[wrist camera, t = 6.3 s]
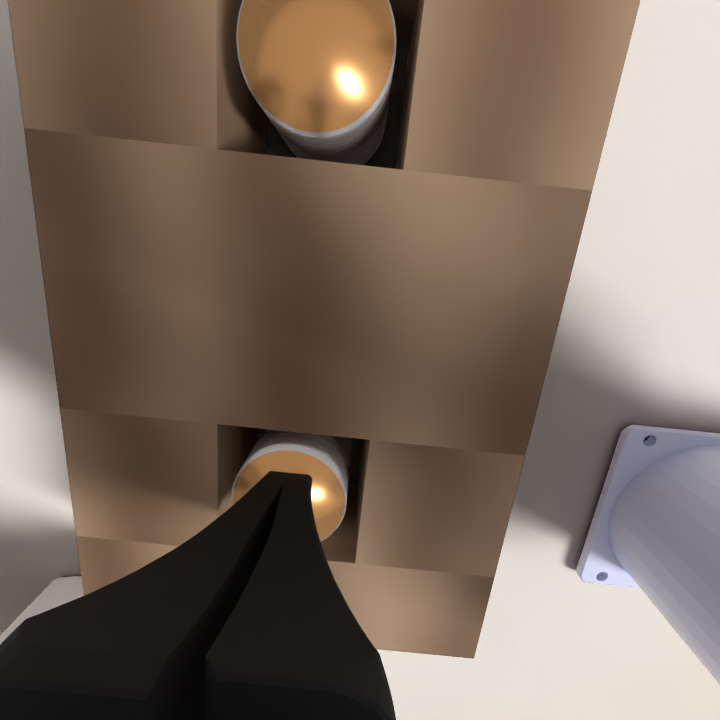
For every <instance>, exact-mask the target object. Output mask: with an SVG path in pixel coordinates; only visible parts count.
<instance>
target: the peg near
mask: <svg viewBox="0 0 720 720" xmlns="http://www.w3.org/2000/svg"><path fill="white" fill-rule="evenodd" d="M236 41H237V53H238V59H239V63H240V67H241V71H242V74H243V76H244V79H245V82H246V84H247V86H248V88H249V90H250V92H251V94H252V95H253V97H254V98H255V99H256V101H257V102H258V104H259V105H260V107H261V108H262V109H263V111H264V112H265V114H266V115H267V116H268V118H269V119H270V121H271V122H272V124H273V125H274V126H275V128H276V129H277V131H278V132H279V133H280V135H281V136H282V138H283V139H284V140H285V142H286V143H287V145H288V146H289V147H290V149H291V150H292V152H293V153H294V154H295V156H296V157H297V158H302V159H311V160H320V161H329V162H338V163H347V164H356V165H364V164H365V163H366V162H367V161H368V160H369V159H370V158H371V157H372V156H373V155H374V153H375V152H376V150H377V149H378V147H379V145H380V143H381V141H382V138H383V135H384V131H385V126H386V119H387V112H388V105H389V98H390V91H391V84H392V77H393V70H394V63H395V56H396V27H395V21H394V15H393V12H392V8H391V5H390V2H389V0H242V3H241V7H240V10H239V15H238V21H237V32H236Z"/></svg>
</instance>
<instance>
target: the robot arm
mask: <svg viewBox="0 0 720 720" xmlns="http://www.w3.org/2000/svg"><path fill="white" fill-rule="evenodd" d="M648 435H649V438H648V440H646V441H644V442H643V440H644V439H645V437H647V436H648ZM311 490H312V477H311V476H310V475H307V474H297V473H287V472H277V471H270V472H268V473H267V474H266V475H265V476H264V477H263V478H262V479H261V480H260V481H259V482H258V483H257V484H256V485H255V486H253V487H252V488H251V489H250V490H249V491H248V492H247V493H246V494H245V495H244V496H243V497H242V498H240V499H239V500H238V501H237V502H236V503H235V504H234V505H233V506H231V507H230V508H229V509H228V510H227V511H226V512H224V513H223V514H222V515H221V516H219V517H218V518H217V519H216V520H214V521H213V522H212V523H211V524H209V525H208V526H207V527H206V528H204V529H203V530H201V531H200V532H199V533H197V534H196V535H195V536H193V537H192V538H190V539H189V540H187V541H186V542H184V543H183V544H181V545H180V546H178V547H177V548H175V549H173V550H172V551H170V552H168V553H167V554H165V555H163V556H161V557H160V558H158V559H156V560H154V561H153V562H151V563H149V564H147V565H146V566H144V567H142V568H140V569H139V570H137V571H135V572H133V573H131V574H129V575H127V576H125V577H123V578H121V579H119V580H117V581H115V582H113V583H111V584H109V585H106V586H104V587H102V588H100V589H98V590H96V591H94V592H91V593H89V594H87V595H84V596H82V597H80V598H77V599H75V600H72V601H70V602H67V603H65V604H62V605H60V606H57V607H55V608H53V609H50V610H48V611H45V612H43V613H40V614H38V615H35V616H32V617H30V618H27V619H25V620H24V621H23V622H22V623H21V624H20V625H19V626H18V627H17V628H16V629H15V630H14V631H13V632H12V633H11V634H10V635H9V636H8V637H7V638H6V639H5V640H4V641H3V642H2V643H1V644H0V720H396V717H395V711H394V706H393V701H392V697H391V692H390V689H389V685H388V681H387V677H386V674H385V671H384V667H383V664H382V661H381V658H380V654H379V653H378V651H377V650H376V648H375V647H374V646H373V644H372V643H371V641H370V640H369V638H368V637H367V635H366V634H365V632H364V631H363V629H362V628H361V626H360V625H359V623H358V622H357V620H356V618H355V617H354V615H353V613H352V612H351V610H350V608H349V606H348V604H347V602H346V601H345V599H344V597H343V595H342V593H341V591H340V589H339V587H338V585H337V583H336V581H335V579H334V577H333V574H332V572H331V570H330V567H329V565H328V562H327V559H326V557H325V554H324V551H323V548H322V545H321V542H320V539H319V535H318V532H317V528H316V524H315V519H314V514H313V508H312V501H311ZM576 572H577V574H578V576H579V577H580V579H581V580H582V581H583V582H586V583H592V584H602V585H612V586H622V587H632V588H641V589H642V591H643V592H644V593H645V594H646V595H647V597H648V598H649V599H650V600H651V601H652V603H653V604H654V605H655V606H656V608H657V609H658V610H659V611H660V612H661V614H662V615H663V616H664V617H665V618H666V620H667V621H668V622H669V623H670V625H671V626H672V627H673V628H674V629H675V631H676V632H677V633H678V634H679V635H680V637H681V638H682V639H683V640H684V642H685V643H686V644H687V645H688V646H689V648H690V649H691V650H692V651H693V652H694V654H695V655H696V656H697V657H698V659H699V660H700V661H701V662H702V663H703V665H704V666H705V667H706V668H707V669H708V671H709V672H710V673H711V674H712V676H713V677H714V678H715V679H716V680H717V682H718V683H719V684H720V433H711V432H701V431H691V430H682V429H672V428H662V427H653V426H643V425H630V426H628V427H626V428H625V429H624V430H623V431H622V432H621V434H620V437H619V440H618V443H617V446H616V449H615V452H614V455H613V459H612V462H611V465H610V468H609V471H608V474H607V477H606V480H605V483H604V486H603V489H602V492H601V495H600V498H599V501H598V505H597V508H596V511H595V514H594V517H593V520H592V523H591V526H590V529H589V532H588V535H587V538H586V541H585V544H584V547H583V550H582V554H581V557H580V560H579V563H578V566H577V571H576ZM600 572H601V573H600ZM598 573H599V574H598Z"/></svg>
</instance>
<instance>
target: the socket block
mask: <svg viewBox="0 0 720 720" xmlns="http://www.w3.org/2000/svg"><path fill="white" fill-rule="evenodd" d="M389 2H390V5H391V8H392V12H393V15H394V21H395V27H396V46H401V47H409V54H408V63H407V71H406V80H405V88H404V97H403V105H402V114H401V122H400V131H399V139H398V148H397V156H396V165H395V169H392V168H383V167H374V166H365V165H356V164H347V163H338V162H329V161H320V160H311V159H302V158H293V157H283V156H274V155H266V150H267V118H268V116H267V115H266V114H265V112H264V111H263V109H262V108H261V107H260V105H259V104H258V102H257V101H256V99H255V98H254V97H253V95H252V94H251V92H250V90H249V88H248V86H247V84H246V82H245V79H244V76H243V74H242V71H241V67H240V63H239V59H238V53H237V41H236V32H237V21H238V15H239V10H240V7H241V3H242V0H8V6H9V14H10V22H11V30H12V38H13V46H14V53H15V61H16V69H17V77H18V85H19V93H20V100H21V108H22V116H23V124H24V132H25V139H26V147H27V155H28V163H29V171H30V179H31V186H32V194H33V202H34V210H35V218H36V226H37V233H38V241H39V249H40V257H41V265H42V273H43V280H44V288H45V296H46V304H47V312H48V320H49V327H50V335H51V343H52V351H53V359H54V367H55V374H56V382H57V390H58V398H59V406H60V414H61V421H62V429H63V437H64V445H65V453H66V460H67V468H68V476H69V484H70V492H71V500H72V507H73V515H74V523H75V531H76V539H77V547H78V554H79V562H80V570H81V578H82V586H83V594H84V595H87V594H89V593H91V592H94V591H96V590H98V589H100V588H102V587H104V586H106V585H109V584H111V583H113V582H115V581H117V580H119V579H121V578H123V577H125V576H127V575H129V574H131V573H133V572H135V571H137V570H139V569H140V568H142V567H144V566H146V565H147V564H149V563H151V562H153V561H154V560H156V559H158V558H160V557H161V556H163V555H165V554H167V553H168V552H170V551H172V550H173V549H175V548H177V547H178V546H180V545H181V544H183V543H184V542H186V541H187V540H189V539H190V538H192V537H193V536H195V535H196V534H197V533H199V532H200V531H201V530H203V529H204V528H206V527H207V526H208V525H209V524H211V523H212V522H213V521H214V520H216V519H217V518H218V517H219V516H221V515H222V514H223V513H224V512H226V511H227V510H228V509H229V508H230V507H231V506H233V503H232V487H233V483H234V480H235V478H236V476H237V474H238V472H239V471H240V469H241V467H242V466H243V464H244V462H245V461H246V459H247V457H248V456H249V454H250V452H251V451H252V449H253V447H254V445H255V444H256V442H257V440H258V428H260V429H269V430H279V431H289V432H299V433H308V434H318V435H328V436H338V437H348V438H357V439H363V446H362V455H361V463H360V472H359V481H358V484H357V483H348V492H347V504H346V511H345V515H344V517H343V520H342V522H341V524H340V525H339V526H338V528H337V529H336V530H335V531H334V532H333V533H332V534H331V535H330V536H329V537H327V538H326V539H324V540H323V541H321V545H322V548H323V551H324V554H325V557H326V559H327V562H328V565H329V567H330V570H331V572H332V574H333V577H334V579H335V581H336V583H337V585H338V587H339V589H340V591H341V593H342V595H343V597H344V599H345V601H346V602H347V604H348V606H349V608H350V610H351V612H352V613H353V615H354V617H355V618H356V620H357V622H358V623H359V625H360V626H361V628H362V629H363V631H364V632H365V634H366V635H367V637H368V638H369V640H370V641H371V643H372V644H373V646H374V647H375V648H376V649H381V650H391V651H401V652H412V653H422V654H433V655H443V656H453V657H464V658H474V656H475V652H476V648H477V644H478V640H479V636H480V632H481V628H482V624H483V620H484V616H485V612H486V608H487V604H488V600H489V596H490V592H491V588H492V584H493V580H494V577H495V573H496V569H497V565H498V561H499V557H500V553H501V549H502V545H503V541H504V537H505V533H506V529H507V525H508V521H509V517H510V513H511V509H512V505H513V501H514V497H515V493H516V490H517V486H518V482H519V478H520V474H521V470H522V466H523V462H524V458H525V454H526V450H527V446H528V442H529V438H530V434H531V430H532V426H533V422H534V418H535V414H536V410H537V406H538V403H539V399H540V395H541V391H542V387H543V383H544V379H545V375H546V371H547V367H548V363H549V359H550V355H551V351H552V347H553V343H554V339H555V335H556V331H557V327H558V323H559V319H560V316H561V312H562V308H563V304H564V300H565V296H566V292H567V288H568V284H569V280H570V276H571V272H572V268H573V264H574V260H575V256H576V252H577V248H578V244H579V240H580V236H581V233H582V229H583V225H584V221H585V217H586V213H587V209H588V205H589V201H590V197H591V193H592V189H593V185H594V181H595V177H596V173H597V169H598V165H599V161H600V157H601V153H602V149H603V146H604V142H605V138H606V134H607V130H608V126H609V122H610V118H611V114H612V110H613V106H614V102H615V98H616V94H617V90H618V86H619V82H620V78H621V74H622V70H623V66H624V62H625V59H626V55H627V51H628V47H629V43H630V39H631V35H632V31H633V27H634V23H635V19H636V15H637V11H638V7H639V3H640V0H389Z"/></svg>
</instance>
